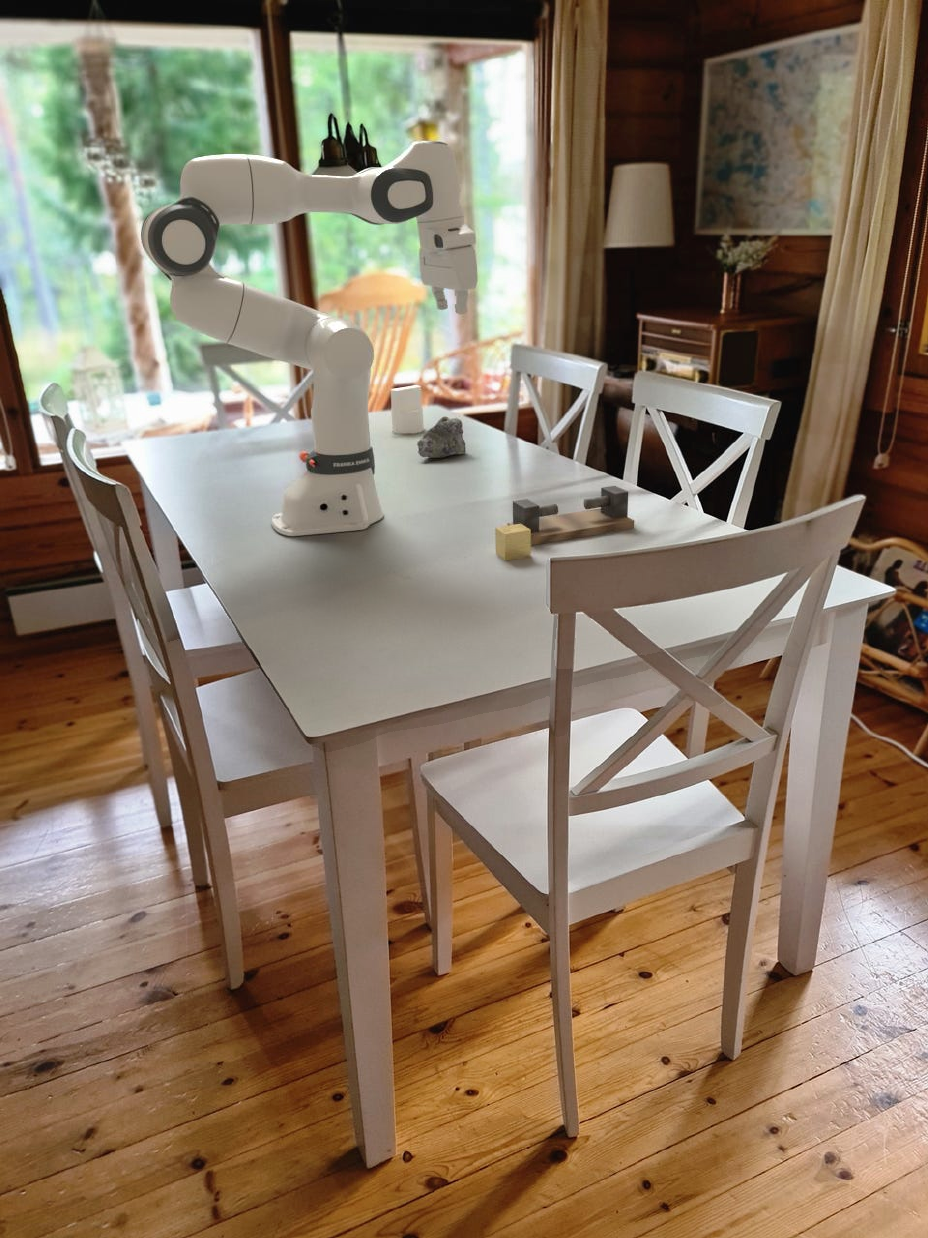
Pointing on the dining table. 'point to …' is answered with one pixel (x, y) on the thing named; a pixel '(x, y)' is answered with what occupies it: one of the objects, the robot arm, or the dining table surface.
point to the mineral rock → (443, 439)
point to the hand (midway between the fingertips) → (451, 311)
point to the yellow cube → (513, 542)
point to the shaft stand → (575, 517)
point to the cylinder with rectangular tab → (407, 409)
